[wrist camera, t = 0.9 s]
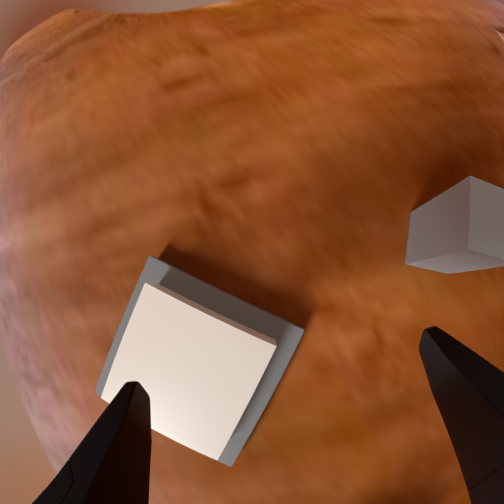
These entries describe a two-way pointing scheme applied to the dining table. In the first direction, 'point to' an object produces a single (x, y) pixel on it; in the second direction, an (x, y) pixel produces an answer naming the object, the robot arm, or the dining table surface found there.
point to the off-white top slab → (189, 367)
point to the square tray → (234, 310)
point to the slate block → (459, 229)
